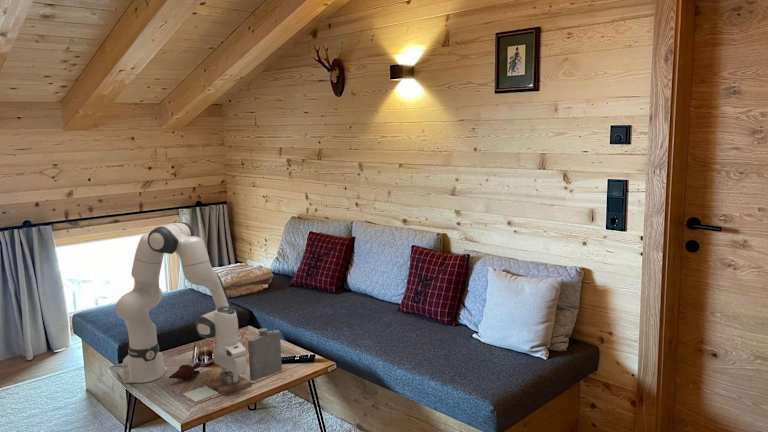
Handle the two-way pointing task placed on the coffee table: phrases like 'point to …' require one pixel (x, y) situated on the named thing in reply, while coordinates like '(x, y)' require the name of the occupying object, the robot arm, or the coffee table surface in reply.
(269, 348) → the hip flask
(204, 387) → the pad
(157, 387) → the coffee table surface
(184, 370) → the icecream
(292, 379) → the coffee table surface
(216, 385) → the peg stand
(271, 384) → the coffee table surface
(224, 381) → the collar
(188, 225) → the robot arm
